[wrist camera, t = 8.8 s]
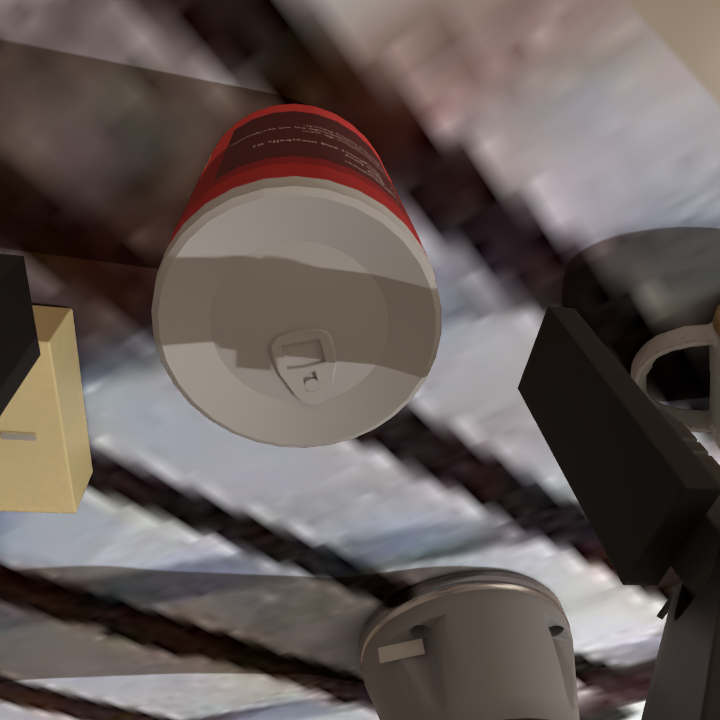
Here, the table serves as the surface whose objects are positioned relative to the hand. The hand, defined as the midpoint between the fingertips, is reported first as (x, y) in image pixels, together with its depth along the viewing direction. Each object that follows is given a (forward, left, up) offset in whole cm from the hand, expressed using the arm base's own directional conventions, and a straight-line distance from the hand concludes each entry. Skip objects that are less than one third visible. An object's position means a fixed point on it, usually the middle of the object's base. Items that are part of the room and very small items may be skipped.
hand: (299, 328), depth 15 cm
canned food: (0, 0, -11) cm, 11 cm away
